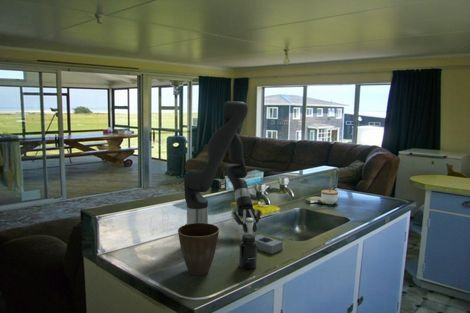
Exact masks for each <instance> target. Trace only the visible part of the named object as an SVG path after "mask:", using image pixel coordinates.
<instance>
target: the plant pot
mask: <svg viewBox="0 0 470 313" xmlns="http://www.w3.org/2000/svg"><path fill="white" fill-rule="evenodd" d="M186 224H187V223H186ZM177 233H178V239H179V246H180V248H181V249H180V251H181V252H182V257H183V260H184V262H185V266H186V267H187V271H188V273H189V274H191V275H193V276H204V275H206V274H208V273H209V271H210V269H211V265H212V264H213V260H214V257H215V253H216V250H217V245H218V240H219V233H220V228H219V227H218V225H215V224H212V223H208V224H207V223H193V224H187V225H185V224H184V225H182V226H180V227H178V229H177Z"/></svg>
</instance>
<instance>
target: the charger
mask: <svg viewBox="0 0 470 313" xmlns="http://www.w3.org/2000/svg"><path fill="white" fill-rule="evenodd" d="M245 224H246V225H247V230H248V232H247V233H245V234H251V235H254V232H253V218H246V223H245Z"/></svg>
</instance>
